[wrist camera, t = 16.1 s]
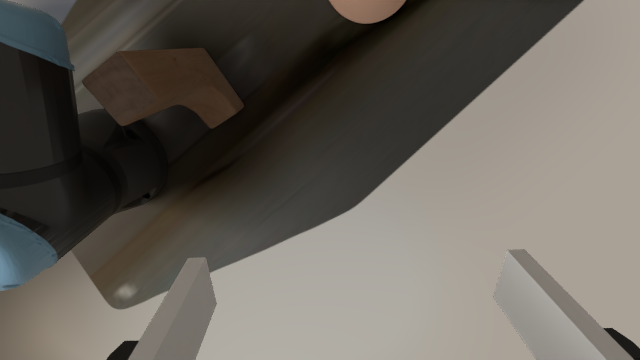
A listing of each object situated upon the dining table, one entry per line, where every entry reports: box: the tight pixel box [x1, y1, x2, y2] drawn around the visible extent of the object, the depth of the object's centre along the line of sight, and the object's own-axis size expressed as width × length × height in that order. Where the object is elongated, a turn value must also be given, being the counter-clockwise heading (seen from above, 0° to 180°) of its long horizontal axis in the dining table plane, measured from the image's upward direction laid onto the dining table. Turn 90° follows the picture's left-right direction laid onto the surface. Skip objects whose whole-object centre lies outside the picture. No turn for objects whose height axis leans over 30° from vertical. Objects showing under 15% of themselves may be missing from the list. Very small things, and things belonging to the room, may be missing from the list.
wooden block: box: [82, 48, 244, 129], centre depth 33 cm, size 9×4×18 cm, turn 31°
